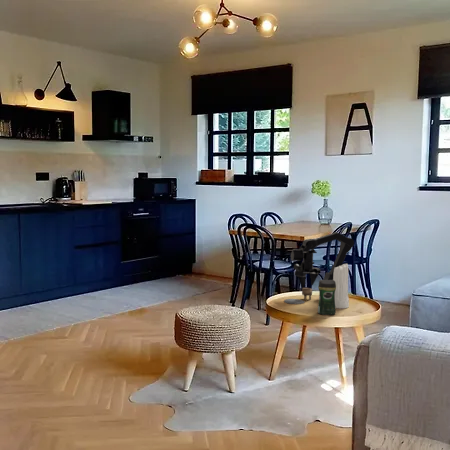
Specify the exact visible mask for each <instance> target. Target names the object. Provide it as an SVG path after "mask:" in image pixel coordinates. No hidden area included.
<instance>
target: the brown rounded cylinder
mask: <svg viewBox="0 0 450 450" xmlns="http://www.w3.org/2000/svg"><path fill="white" fill-rule="evenodd" d="M301 289H302V290H301V295H302V296H303V301H306V300H307V299H308V300H309V301H311V300H312V295H313V288H311V287H301ZM307 297H308V298H307Z"/></svg>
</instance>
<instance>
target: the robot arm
mask: <svg viewBox="0 0 450 450" xmlns="http://www.w3.org/2000/svg"><path fill="white" fill-rule="evenodd" d="M335 240H336V241H337V242H339V251H338V253H337V256H336V258H335V260H334V263H333V264H332V267H331V269H330V271H329V272H325V274H324V276H323V280H333V273H334V268H335V267H339V266H341V265H343V264H344V261H345V258H346V257H347V254H348V253H349V252H350V251H351V250H352V249H353V247H354V245H355V240H354V239H353V238H351V237H347V236H344V235H342V234H341V233H340V232H338V231H337V232H336V231H335V232H334V231H333V232H332V233H329V234H326V235H323V236H320V237H316V238H306V239H304V240H303V241H302V244H301V246H300V247H299V248H298V249H295V248H293V249H292V251H291V252H290V260H291V262H292V261H293V262H296V261H297V262H298V261H299V262H300V261H302V262H301V263H300V264H298V263H294V265H293V269H294V270H295V271H294V276H296V277H297V278H298V280H299V281H300V285H301V288H305V283H306V282H307V281H306V280H307V274H309V276H310V285H311V286H314V283H315V281H316V280H317V279H318V276H319V275H320V273H321V271H322V270H321V269H320V267H314V265H315V261H314V254H317V251H316V250H315V249H316V248H317V247H319V246H320V245H323V244H327V243H329V242H333V241H335Z"/></svg>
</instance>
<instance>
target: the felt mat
mask: <svg viewBox="0 0 450 450" xmlns="http://www.w3.org/2000/svg"><path fill="white" fill-rule="evenodd" d="M283 302H284V303H285V304H289V305H301V304H305V300H304V299H298V298H288V299H284V300H283Z"/></svg>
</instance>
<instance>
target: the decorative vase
mask: <svg viewBox="0 0 450 450" xmlns="http://www.w3.org/2000/svg"><path fill="white" fill-rule="evenodd" d="M333 280H334V281H335V283H336V290H335V309H348V308H349V306H350V304H349V302H350V299H349V294H348V293H349V265H348V263H342V265H341V266H339V267H335V268H334V273H333Z"/></svg>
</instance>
